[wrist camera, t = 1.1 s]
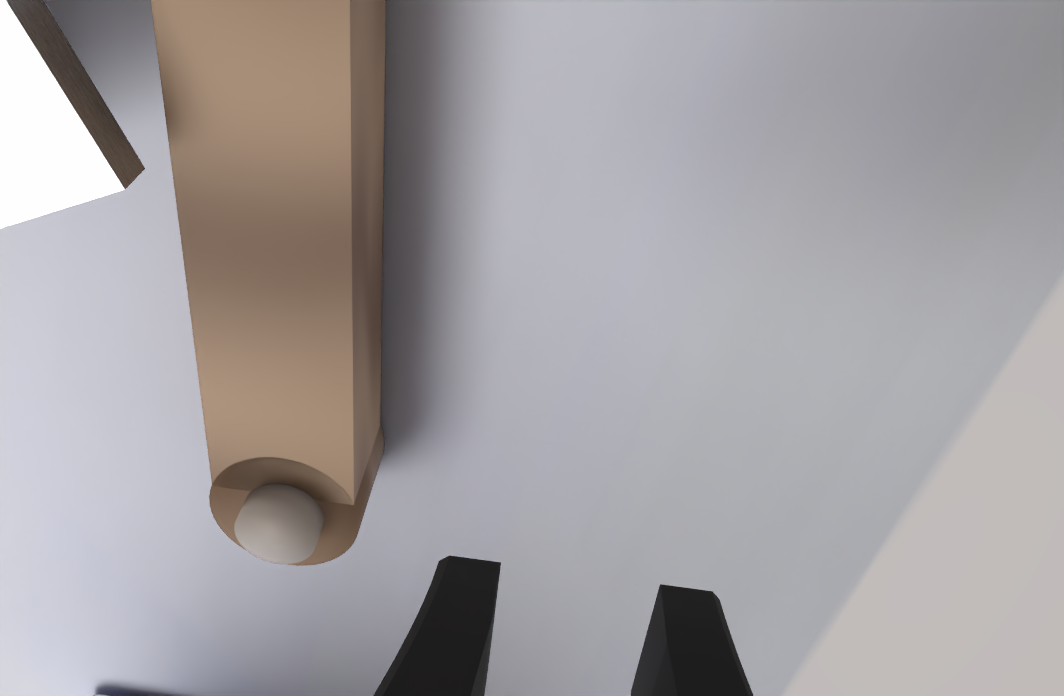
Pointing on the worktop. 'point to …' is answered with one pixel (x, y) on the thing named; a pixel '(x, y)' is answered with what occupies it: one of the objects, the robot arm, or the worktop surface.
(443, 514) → the worktop surface
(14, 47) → the bracket
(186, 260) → the link
